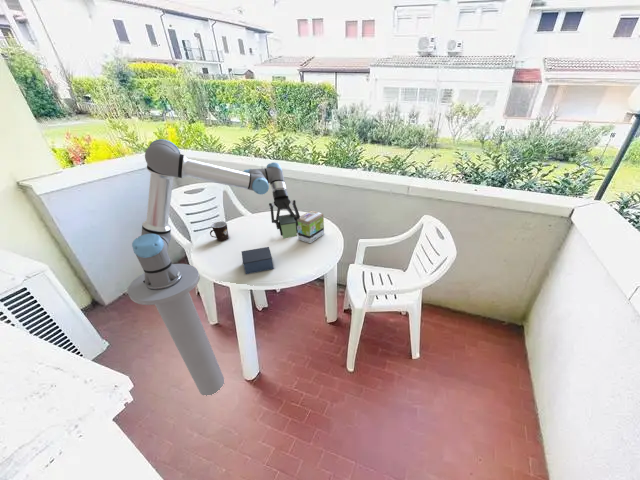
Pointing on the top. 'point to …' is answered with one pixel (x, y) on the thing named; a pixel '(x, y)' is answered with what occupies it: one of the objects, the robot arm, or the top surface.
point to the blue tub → (257, 260)
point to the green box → (288, 226)
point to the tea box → (310, 226)
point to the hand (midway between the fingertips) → (289, 233)
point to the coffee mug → (220, 230)
